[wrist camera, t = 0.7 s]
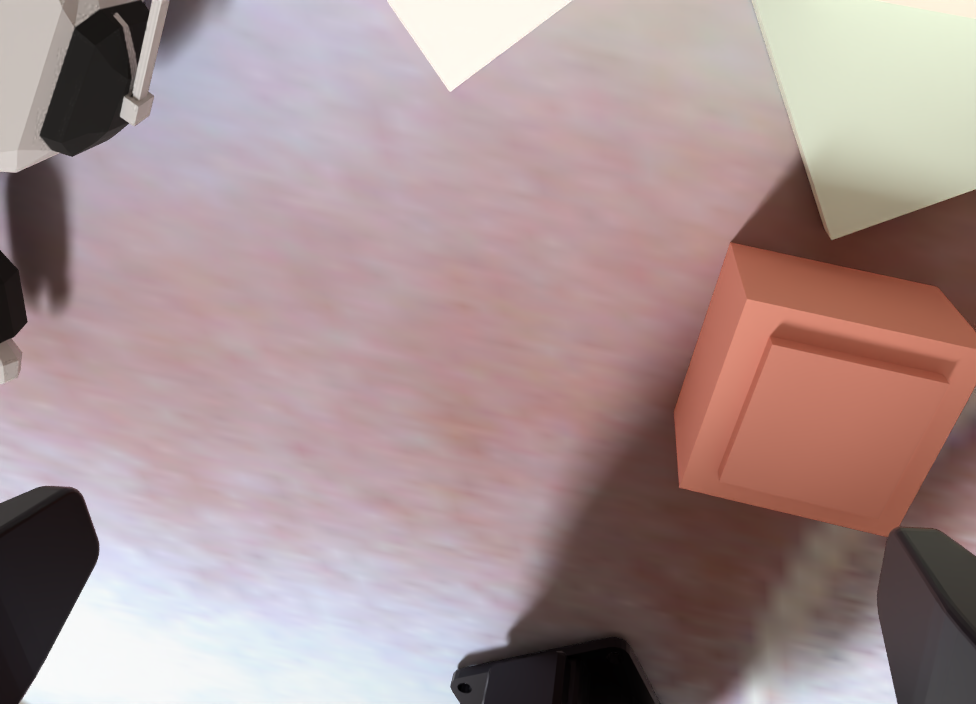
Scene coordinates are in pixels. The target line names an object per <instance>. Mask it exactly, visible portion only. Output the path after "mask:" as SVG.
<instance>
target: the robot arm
mask: <svg viewBox="0 0 976 704" xmlns="http://www.w3.org/2000/svg"><path fill="white" fill-rule="evenodd" d="M98 556H99V541H98V537H97V534H96V532H95V529H94V526H93V523H92V520H91V517H90V514H89V511H88V509H87V506H86V503H85V500H84V498H83V496H82V494H81V493H80V492H79V491H78V490H77V489H75V488H72V487H61V486H42V487H38V488H35V489H33V490H31V491H28V492H26V493H24V494H21V495H19V496H16V497H14V498H12V499H9V500H7V501H5V502H2V503H0V704H19V703H20V702H21V700H22V698H23V697H24V695H25V694H26V692H27V690H28V689H29V687H30V686H31V684H32V682H33V681H34V679H35V678H36V676H37V674H38V672H39V670H40V669H41V667H42V665H43V663H44V661H45V660H46V658H47V656H48V654H49V652H50V650H51V648H52V646H53V644H54V643H55V641H56V639H57V637H58V635H59V633H60V631H61V629H62V627H63V626H64V624H65V622H66V620H67V618H68V616H69V614H70V612H71V610H72V608H73V607H74V605H75V603H76V601H77V599H78V597H79V595H80V593H81V591H82V590H83V588H84V586H85V584H86V582H87V580H88V578H89V576H90V574H91V572H92V571H93V569H94V567H95V565H96V562H97V559H98ZM877 606H878V614H879V620H880V624H881V629H882V634H883V638H884V643H885V647H886V652H887V657H888V661H889V666H890V671H891V675H892V680H893V685H894V689H895V694H896V698H897V703H898V704H976V556H975V555H973V554H972V553H971V552H969V551H968V550H967V549H965V548H964V547H962V546H961V545H960V544H958V543H957V542H956V541H954V540H953V539H951V538H950V537H949V536H947V535H946V534H944V533H943V532H941V531H939V530H937V529H933V528H917V527H896V528H894V529H893V530H891V532H890V533H889V535H888V538H887V542H886V548H885V553H884V558H883V564H882V569H881V575H880V580H879V586H878V592H877ZM612 652H616V653H619V654H613V653H612ZM465 683H466V684H465ZM451 690H452V692H453V693H454V695H455V696H456V698H457V699H458V701H459V702H460V704H660V702H659V700H658V698H657V696H656V694H655V692H654V691H653V689H652V687H651V685H650V683H649V681H648V679H647V677H646V675H645V673H644V671H643V670H642V668H641V666H640V664H639V662H638V660H637V658H636V656H635V654H634V652H633V650H632V649H631V647H630V645H629V644H628V643H627V641H625V640H623V639H621V638H617V637H609V638H604V639H600V640H595V641H590V642H585V643H581V644H576V645H571V646H567V647H562V648H557V649H552V650H548V651H543V652H538V653H533V654H529V655H524V656H519V657H514V658H510V659H505V660H500V661H495V662H491V663H486V664H481V665H476V666H472V667H467V668H462V669H459V670H456V671H455V672H454V674H453V678H452V681H451Z"/></svg>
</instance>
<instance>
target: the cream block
mask: <svg viewBox="0 0 976 704" xmlns="http://www.w3.org/2000/svg"><path fill="white" fill-rule="evenodd" d="M876 1H881V2H886V3H892V4H897V5H903V6H908V7H914V8H919V9H925V10H930V11H936V12H941V13H947V14H952V15H958V16H963V17H969V18H974V19H976V0H876Z"/></svg>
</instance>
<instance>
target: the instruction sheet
mask: <svg viewBox="0 0 976 704" xmlns="http://www.w3.org/2000/svg"><path fill="white" fill-rule="evenodd" d="M571 1H572V0H387V2H388V3H389V5H390V6H391V7H392V9H393V10H394V12H395V13H396V15H397V16H398V18H399V19H400V20H401V22H402V23H403V25H404V26H405V28H406V29H407V31H408V32H409V33H410V35H411V36H412V38H413V39H414V41H415V42H416V44H417V45H418V47H419V48H420V49H421V51H422V52H423V54H424V55H425V57H426V58H427V60H428V61H429V62H430V64H431V65H432V67H433V68H434V70H435V71H436V73H437V74H438V76H439V77H440V78H441V80H442V81H443V83H444V84H445V86H446V87H447V89H448V90H449V91H450V92H451V91H452V90H453V89H455V88H456V87H457V86H459V85H460V84H461V83H463V82H464V81H465V80H467V79H468V78H469V77H471V76H472V75H473V74H475V73H476V72H477V71H479V70H480V69H481V68H483V67H484V66H485V65H487V64H488V63H489V62H491V61H492V60H493V59H495V58H496V57H497V56H499V55H500V54H501V53H503V52H504V51H505V50H507V49H508V48H509V47H511V46H512V45H513V44H515V43H516V42H517V41H519V40H520V39H521V38H523V37H524V36H525V35H527V34H528V33H529V32H531V31H532V30H533V29H535V28H536V27H537V26H539V25H540V24H541V23H543V22H544V21H545V20H547V19H548V18H549V17H551V16H552V15H553V14H555V13H556V12H557V11H559V10H560V9H561V8H563V7H564V6H565V5H567V4H568V3H569V2H571Z"/></svg>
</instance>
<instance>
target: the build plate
mask: <svg viewBox="0 0 976 704" xmlns="http://www.w3.org/2000/svg"><path fill="white" fill-rule="evenodd" d="M752 4H753V7H754V10H755V13H756V16H757V19H758V22H759V26H760V29H761V32H762V35H763V38H764V41H765V44H766V47H767V51H768V54H769V57H770V60H771V63H772V66H773V69H774V73H775V76H776V79H777V82H778V85H779V88H780V91H781V94H782V98H783V101H784V104H785V107H786V110H787V113H788V116H789V120H790V123H791V126H792V129H793V132H794V135H795V138H796V141H797V145H798V148H799V151H800V154H801V157H802V160H803V163H804V167H805V170H806V173H807V176H808V179H809V182H810V185H811V188H812V192H813V195H814V198H815V201H816V204H817V207H818V210H819V214H820V217H821V220H822V223H823V226H824V229H825V231H826V232H827V234H828V235H829V237H830V239H831V240H834V239H837V238H839V237H842V236H845V235H848V234H851V233H854V232H856V231H859V230H862V229H865V228H868V227H871V226H873V225H876V224H879V223H882V222H885V221H887V220H890V219H893V218H896V217H899V216H902V215H904V214H907V213H910V212H913V211H916V210H919V209H921V208H924V207H927V206H930V205H933V204H935V203H938V202H941V201H944V200H947V199H950V198H952V197H955V196H958V195H961V194H964V193H967V192H969V191H972V190H975V189H976V19H974V18H969V17H963V16H958V15H952V14H947V13H941V12H936V11H930V10H925V9H919V8H914V7H908V6H903V5H897V4H892V3H886V2H881V1H876V0H752Z"/></svg>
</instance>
